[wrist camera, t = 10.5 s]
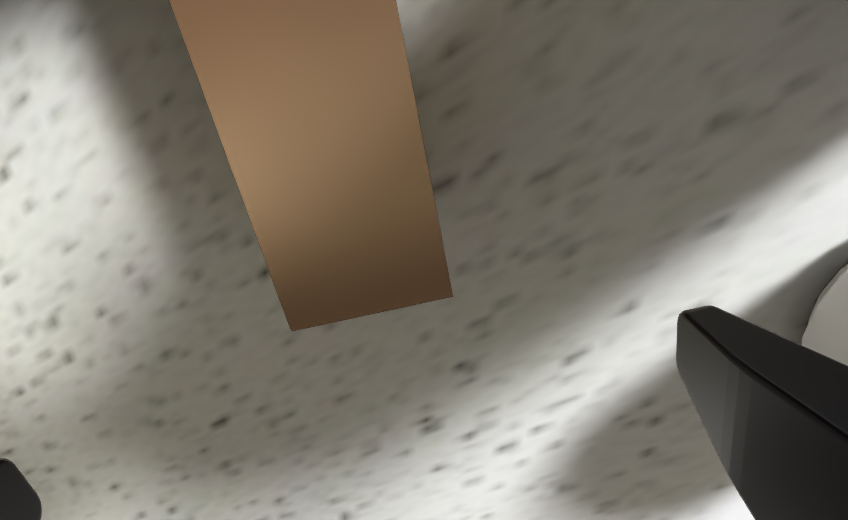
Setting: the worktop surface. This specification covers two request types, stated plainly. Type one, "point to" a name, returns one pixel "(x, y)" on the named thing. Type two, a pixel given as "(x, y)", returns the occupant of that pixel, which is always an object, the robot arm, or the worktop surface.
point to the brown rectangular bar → (323, 149)
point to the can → (830, 320)
